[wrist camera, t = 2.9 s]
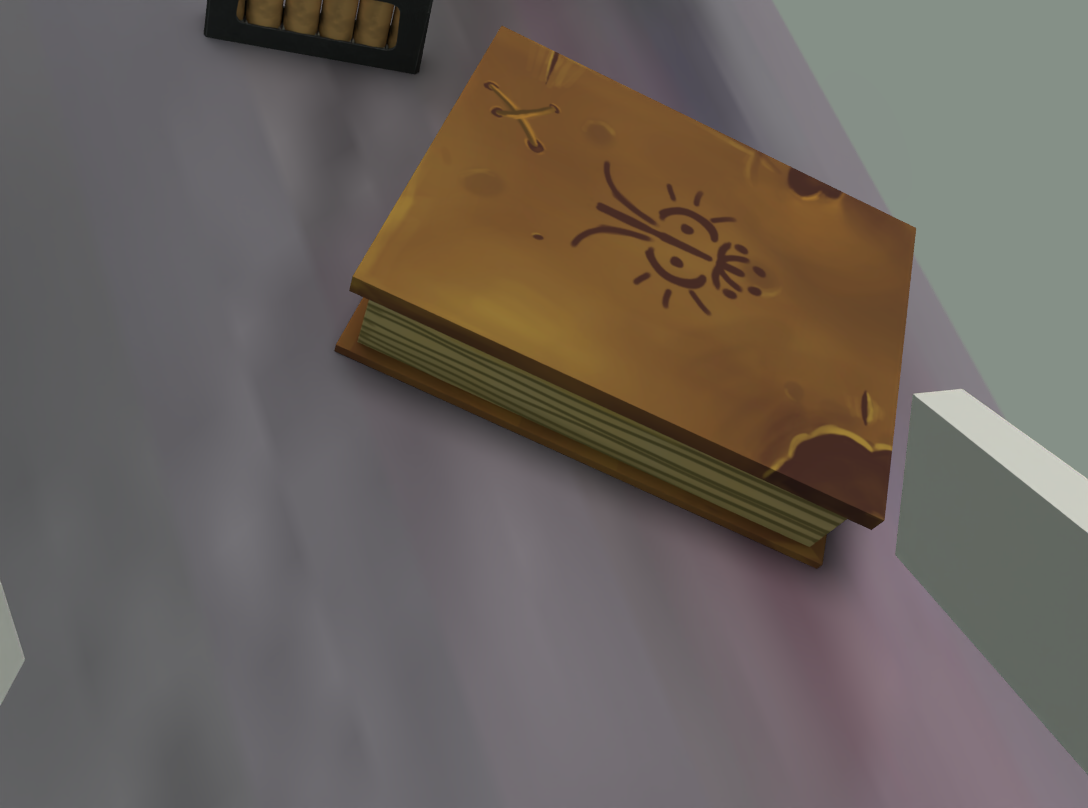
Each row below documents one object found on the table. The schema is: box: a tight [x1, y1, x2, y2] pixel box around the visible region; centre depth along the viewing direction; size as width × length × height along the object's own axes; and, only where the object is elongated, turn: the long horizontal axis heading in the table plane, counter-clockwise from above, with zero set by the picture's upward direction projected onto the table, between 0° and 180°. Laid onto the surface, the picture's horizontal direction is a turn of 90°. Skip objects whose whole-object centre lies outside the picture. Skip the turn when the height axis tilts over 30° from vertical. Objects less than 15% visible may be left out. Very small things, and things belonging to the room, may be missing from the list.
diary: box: [335, 26, 916, 569], centre depth 46 cm, size 23×19×6 cm
